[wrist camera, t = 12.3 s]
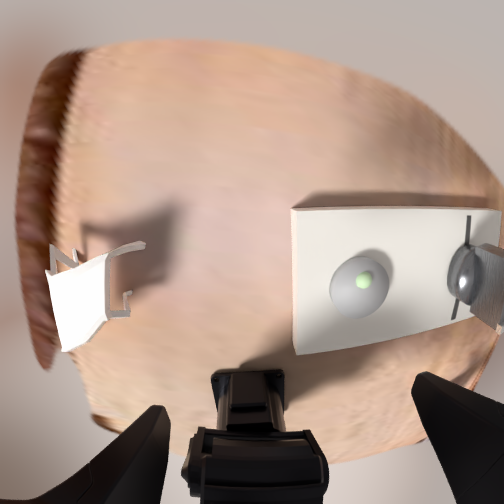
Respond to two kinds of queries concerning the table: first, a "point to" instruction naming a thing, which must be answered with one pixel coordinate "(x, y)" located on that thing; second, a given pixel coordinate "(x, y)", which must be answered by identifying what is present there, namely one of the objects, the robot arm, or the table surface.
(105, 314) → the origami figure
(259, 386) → the robot arm
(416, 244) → the base
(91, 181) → the table surface
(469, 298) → the switch lever
